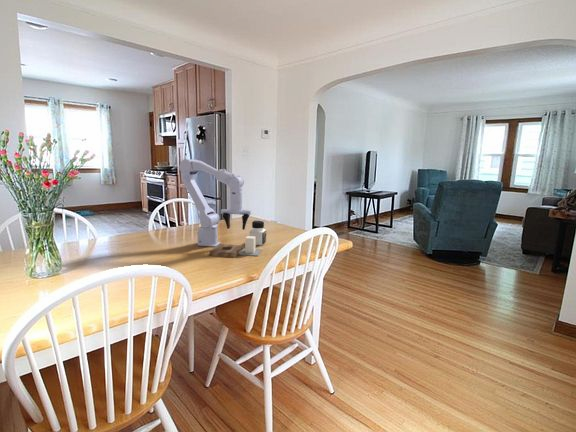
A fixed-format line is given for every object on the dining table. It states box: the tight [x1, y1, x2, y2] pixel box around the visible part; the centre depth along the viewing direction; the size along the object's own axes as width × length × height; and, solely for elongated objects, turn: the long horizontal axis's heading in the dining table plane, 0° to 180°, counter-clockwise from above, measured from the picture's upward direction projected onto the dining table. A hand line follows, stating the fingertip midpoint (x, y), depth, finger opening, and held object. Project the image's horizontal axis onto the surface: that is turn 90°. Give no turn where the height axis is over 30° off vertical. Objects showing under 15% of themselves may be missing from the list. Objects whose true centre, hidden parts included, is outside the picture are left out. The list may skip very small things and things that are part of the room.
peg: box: [244, 235, 257, 253], centre depth 148 cm, size 4×4×7 cm
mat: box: [238, 247, 263, 257], centre depth 149 cm, size 9×9×1 cm
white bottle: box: [248, 219, 267, 246], centre depth 163 cm, size 7×7×12 cm
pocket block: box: [209, 243, 243, 258], centre depth 148 cm, size 12×12×2 cm
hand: (236, 228), depth 155 cm, fingers open, 7 cm apart
